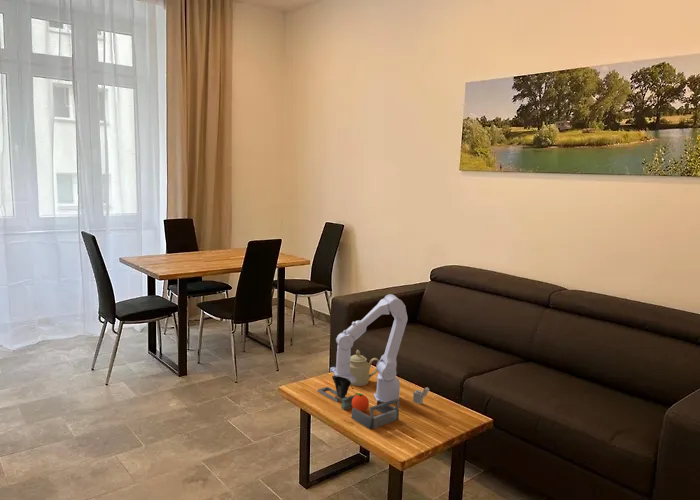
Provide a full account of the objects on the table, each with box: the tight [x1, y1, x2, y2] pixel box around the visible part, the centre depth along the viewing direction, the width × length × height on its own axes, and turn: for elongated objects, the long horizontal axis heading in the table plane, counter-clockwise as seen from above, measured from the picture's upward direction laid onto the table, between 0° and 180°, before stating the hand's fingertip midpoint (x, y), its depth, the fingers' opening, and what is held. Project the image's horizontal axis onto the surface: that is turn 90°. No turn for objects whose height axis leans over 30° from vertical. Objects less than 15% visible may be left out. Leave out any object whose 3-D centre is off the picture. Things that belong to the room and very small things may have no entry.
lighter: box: [412, 386, 430, 405], centre depth 226 cm, size 7×2×8 cm, turn 42°
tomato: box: [351, 392, 370, 413], centre depth 216 cm, size 8×7×7 cm
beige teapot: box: [350, 349, 380, 387], centre depth 247 cm, size 15×11×15 cm
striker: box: [335, 384, 362, 411], centre depth 223 cm, size 10×10×6 cm
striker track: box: [317, 386, 347, 403], centre depth 230 cm, size 13×5×1 cm, turn 40°
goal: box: [350, 398, 401, 430], centre depth 209 cm, size 11×15×8 cm
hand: (341, 393), depth 225 cm, fingers open, 3 cm apart
